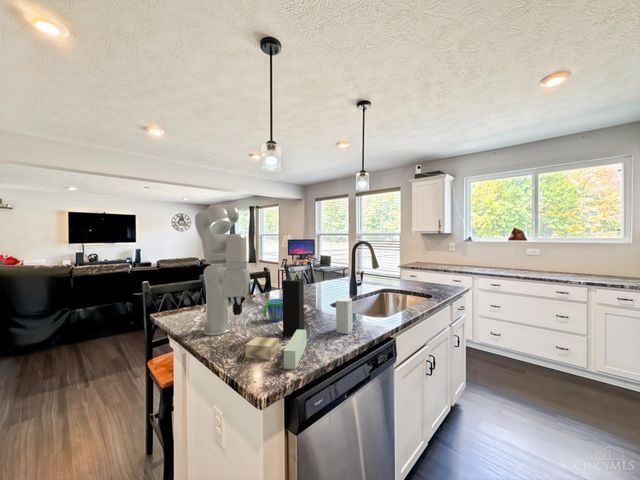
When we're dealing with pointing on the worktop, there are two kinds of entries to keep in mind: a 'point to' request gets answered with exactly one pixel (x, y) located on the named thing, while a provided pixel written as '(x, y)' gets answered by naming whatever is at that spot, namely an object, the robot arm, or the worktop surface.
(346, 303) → the skincare box
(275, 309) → the snack cup
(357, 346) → the worktop surface
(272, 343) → the maple block
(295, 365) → the board
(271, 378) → the worktop surface
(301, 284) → the tall black block
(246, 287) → the robot arm
